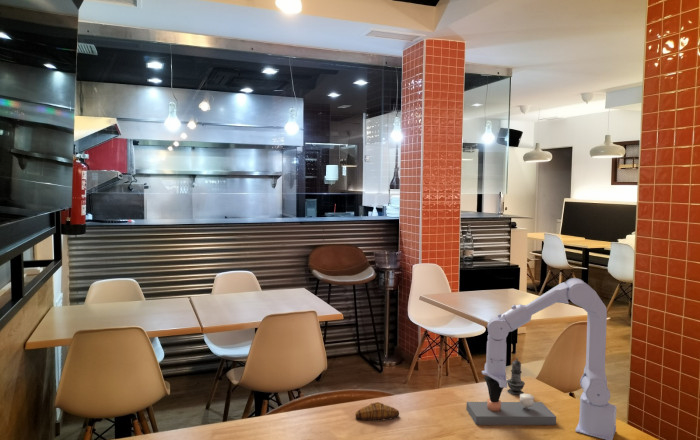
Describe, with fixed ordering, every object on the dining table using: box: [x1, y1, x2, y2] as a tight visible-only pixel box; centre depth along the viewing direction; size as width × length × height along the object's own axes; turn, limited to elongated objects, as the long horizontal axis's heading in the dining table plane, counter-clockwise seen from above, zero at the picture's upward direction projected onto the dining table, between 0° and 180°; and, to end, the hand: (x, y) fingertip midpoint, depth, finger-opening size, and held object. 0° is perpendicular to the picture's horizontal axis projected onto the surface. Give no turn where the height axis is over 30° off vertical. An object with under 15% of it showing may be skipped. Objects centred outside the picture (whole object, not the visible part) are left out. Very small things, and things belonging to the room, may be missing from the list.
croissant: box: [354, 401, 400, 421], centre depth 146 cm, size 14×7×5 cm, turn 100°
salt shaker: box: [506, 358, 526, 397], centre depth 167 cm, size 6×6×12 cm
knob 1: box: [486, 398, 502, 412], centre depth 148 cm, size 4×4×5 cm
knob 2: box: [519, 393, 535, 410], centre depth 149 cm, size 4×4×5 cm
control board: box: [465, 401, 557, 426], centre depth 149 cm, size 24×10×2 cm, turn 92°
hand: (494, 401), depth 148 cm, fingers closed, pressing on knob 1
